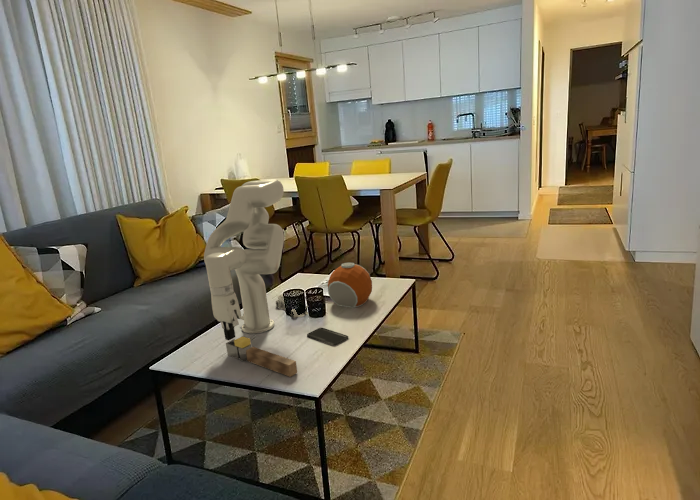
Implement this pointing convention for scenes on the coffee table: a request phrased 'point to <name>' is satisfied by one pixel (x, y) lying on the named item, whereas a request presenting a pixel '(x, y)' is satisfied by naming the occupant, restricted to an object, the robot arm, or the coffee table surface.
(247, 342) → the tab
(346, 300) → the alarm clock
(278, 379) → the coffee table surface
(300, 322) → the coffee table surface
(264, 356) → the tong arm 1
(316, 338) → the phone
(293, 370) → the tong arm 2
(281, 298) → the pale grey knobby bar
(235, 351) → the tong hinge
